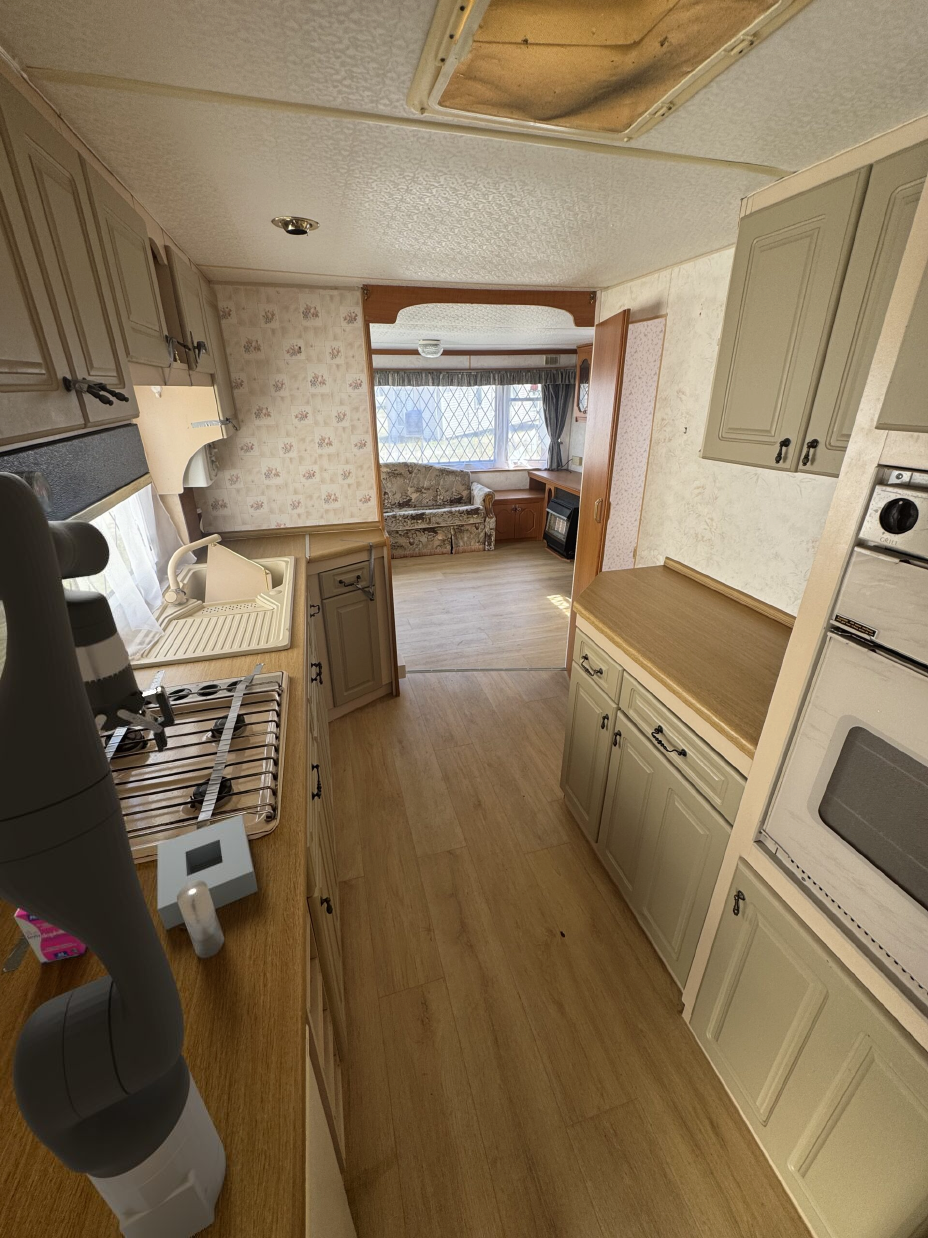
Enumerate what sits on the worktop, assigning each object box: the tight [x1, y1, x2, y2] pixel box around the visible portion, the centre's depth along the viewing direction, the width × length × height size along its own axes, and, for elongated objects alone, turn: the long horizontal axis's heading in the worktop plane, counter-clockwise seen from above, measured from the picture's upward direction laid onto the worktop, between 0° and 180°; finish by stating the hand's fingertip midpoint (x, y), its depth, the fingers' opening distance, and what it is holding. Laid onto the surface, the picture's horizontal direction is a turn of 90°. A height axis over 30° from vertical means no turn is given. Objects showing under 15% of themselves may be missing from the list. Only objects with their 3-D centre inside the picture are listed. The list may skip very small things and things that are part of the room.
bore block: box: [157, 814, 259, 931], centre depth 88 cm, size 14×14×5 cm
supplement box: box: [13, 908, 88, 965], centre depth 76 cm, size 6×6×12 cm
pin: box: [177, 880, 225, 959], centre depth 75 cm, size 4×4×12 cm
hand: (130, 758), depth 77 cm, fingers open, 8 cm apart
